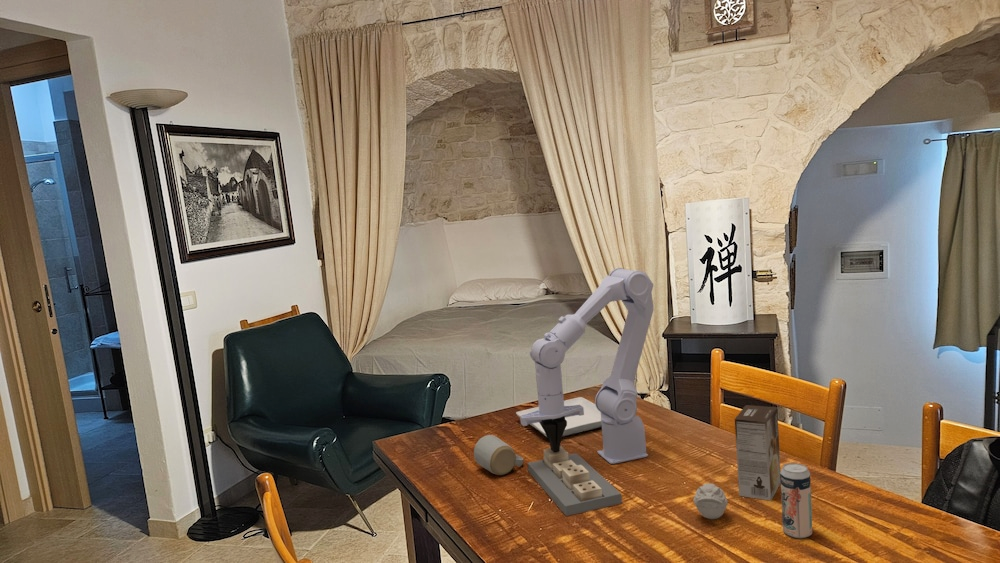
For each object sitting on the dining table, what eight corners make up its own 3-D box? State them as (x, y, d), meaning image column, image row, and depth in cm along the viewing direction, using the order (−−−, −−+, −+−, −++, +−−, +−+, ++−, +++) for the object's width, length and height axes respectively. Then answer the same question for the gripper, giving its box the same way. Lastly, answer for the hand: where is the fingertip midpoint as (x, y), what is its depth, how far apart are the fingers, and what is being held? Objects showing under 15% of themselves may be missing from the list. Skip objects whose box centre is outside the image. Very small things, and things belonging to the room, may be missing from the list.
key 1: (562, 459, 157) (561, 445, 157) (569, 466, 153) (568, 452, 152) (544, 463, 156) (543, 449, 155) (550, 470, 152) (549, 455, 151)
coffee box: (749, 477, 142) (745, 403, 140) (781, 482, 138) (778, 406, 136) (738, 496, 134) (733, 418, 132) (772, 501, 131) (768, 421, 129)
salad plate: (547, 445, 171) (546, 432, 171) (515, 422, 191) (514, 410, 191) (620, 428, 179) (619, 415, 178) (582, 407, 198) (581, 396, 198)
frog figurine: (693, 526, 124) (690, 490, 124) (696, 508, 131) (693, 474, 130) (728, 528, 122) (726, 492, 121) (729, 510, 129) (727, 475, 128)
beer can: (777, 528, 121) (774, 464, 119) (803, 524, 121) (800, 460, 120) (791, 541, 116) (788, 475, 115) (818, 538, 116) (815, 471, 115)
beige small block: (582, 478, 146) (581, 464, 145) (590, 486, 141) (589, 471, 141) (563, 483, 144) (561, 468, 144) (570, 491, 140) (569, 475, 140)
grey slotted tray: (576, 461, 159) (576, 452, 159) (622, 503, 136) (621, 493, 136) (528, 471, 156) (527, 462, 156) (566, 516, 133) (565, 506, 133)
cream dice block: (572, 473, 151) (571, 459, 151) (579, 481, 147) (578, 466, 147) (553, 477, 150) (552, 463, 150) (560, 485, 146) (559, 470, 146)
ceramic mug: (492, 481, 153) (489, 448, 152) (474, 470, 159) (471, 438, 159) (531, 468, 158) (528, 436, 157) (512, 458, 165) (509, 427, 164)
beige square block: (594, 495, 140) (592, 479, 139) (602, 503, 136) (601, 488, 135) (574, 499, 139) (572, 484, 138) (582, 508, 135) (581, 492, 134)
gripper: (573, 382, 158) (578, 438, 160) (514, 393, 154) (519, 450, 156) (585, 390, 151) (590, 448, 153) (523, 401, 147) (529, 461, 149)
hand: (555, 450), depth 154 cm, fingers closed
